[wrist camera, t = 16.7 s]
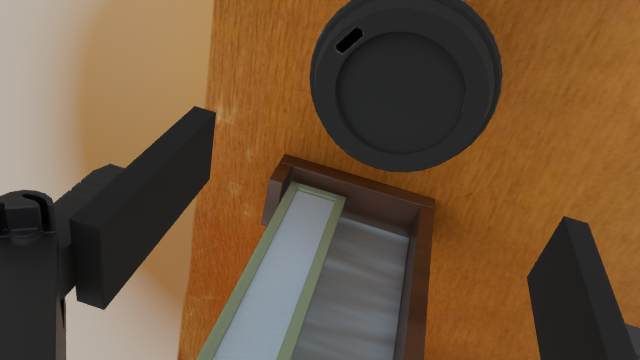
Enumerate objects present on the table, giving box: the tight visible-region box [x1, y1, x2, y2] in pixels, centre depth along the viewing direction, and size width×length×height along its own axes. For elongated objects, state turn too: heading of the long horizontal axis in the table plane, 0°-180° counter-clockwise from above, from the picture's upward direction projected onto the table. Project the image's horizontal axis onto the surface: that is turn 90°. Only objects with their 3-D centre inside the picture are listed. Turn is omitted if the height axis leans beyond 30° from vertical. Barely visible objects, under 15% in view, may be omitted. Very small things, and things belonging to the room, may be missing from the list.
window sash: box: [196, 181, 346, 360], centre depth 34 cm, size 1×5×26 cm, turn 78°
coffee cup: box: [310, 0, 503, 172], centre depth 31 cm, size 10×10×15 cm
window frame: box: [261, 154, 435, 360], centre depth 34 cm, size 5×14×29 cm, turn 78°
